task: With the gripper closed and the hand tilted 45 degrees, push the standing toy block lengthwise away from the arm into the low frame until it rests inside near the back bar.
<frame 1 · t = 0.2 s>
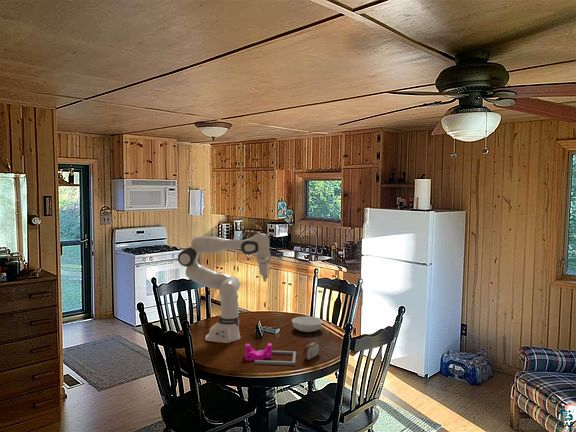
hand: (265, 279, 278), 39 cm above the table, tool pointing down, fingers open, 8 cm apart
toy block: (258, 358, 249), on the table
tin: (311, 357, 251), on the table
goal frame: (275, 358, 248), on the table
serving bowl: (307, 330, 301), on the table
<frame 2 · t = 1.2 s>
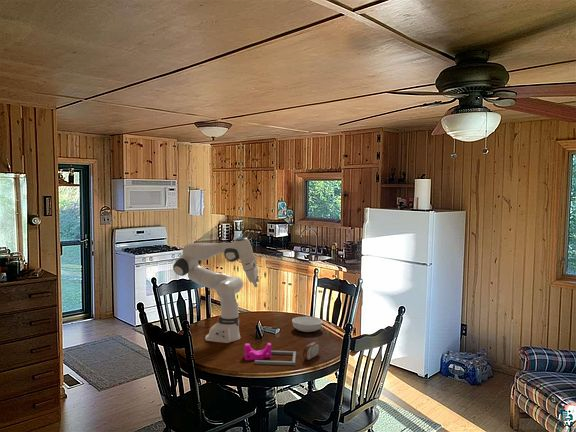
hand: (257, 284, 262), 39 cm above the table, tool tilted 20°, fingers open, 8 cm apart
nothing on the table moved.
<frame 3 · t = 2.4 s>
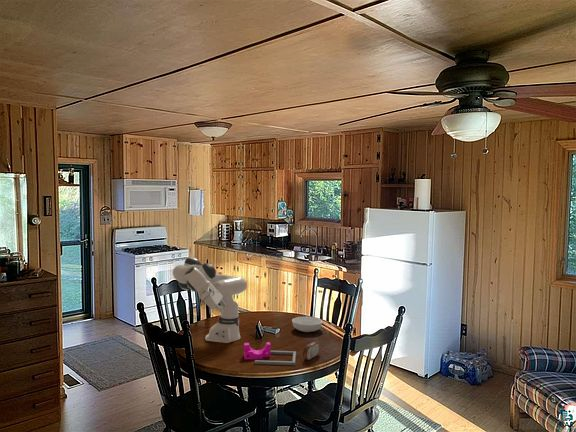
hand: (223, 309, 249), 28 cm above the table, tool tilted 40°, fingers open, 8 cm apart
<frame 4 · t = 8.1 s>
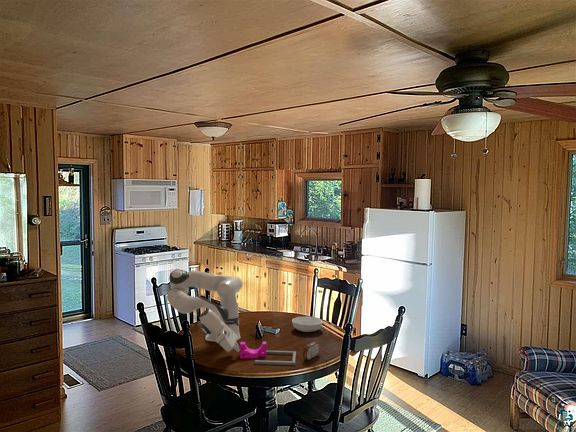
hand: (239, 350, 249), 4 cm above the table, tool tilted 45°, fingers closed
toy block: (253, 356, 252), on the table, touching gripper
everything else where it was.
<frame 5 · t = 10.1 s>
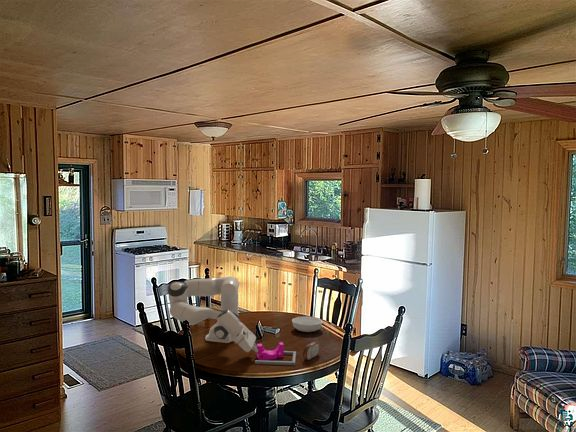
hand: (257, 350, 247), 4 cm above the table, tool tilted 45°, fingers closed
toy block: (270, 358, 250), on the table, touching gripper
everything else where it was.
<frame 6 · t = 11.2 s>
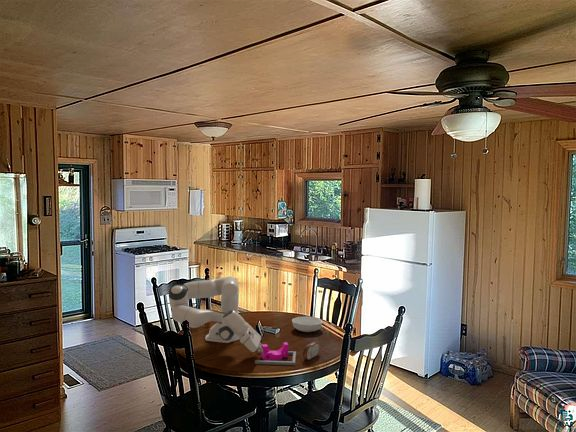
hand: (263, 350, 248), 4 cm above the table, tool tilted 45°, fingers closed
toy block: (275, 358, 249), on the table, touching gripper
everything else where it was.
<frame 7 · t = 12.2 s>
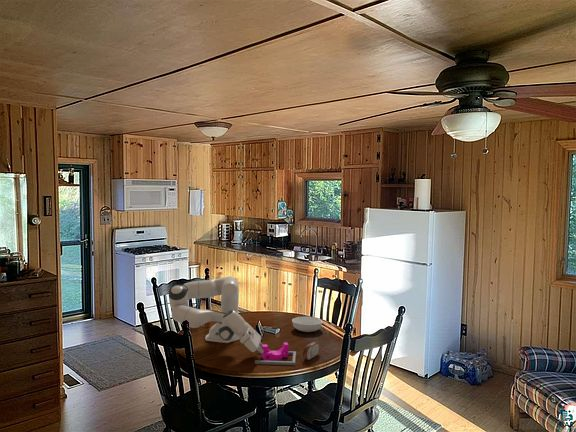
hand: (263, 350, 248), 4 cm above the table, tool tilted 45°, fingers open, 3 cm apart
nothing on the table moved.
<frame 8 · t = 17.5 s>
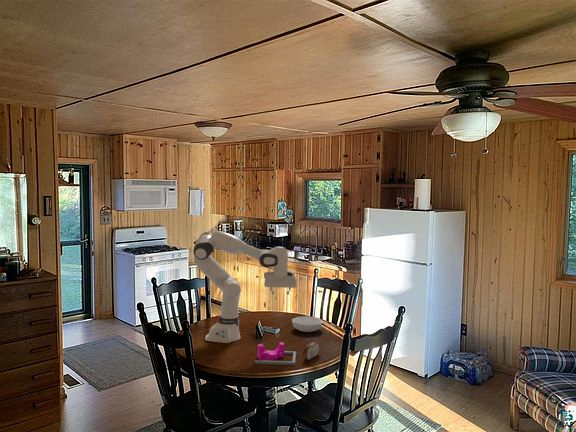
hand: (280, 294, 272), 31 cm above the table, tool pointing down, fingers open, 8 cm apart
toy block: (271, 358, 250), on the table
everything else where it was.
at the end: toy block inside the target area (3.8 cm from its centre), on the table; toy block tilted 0° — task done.
